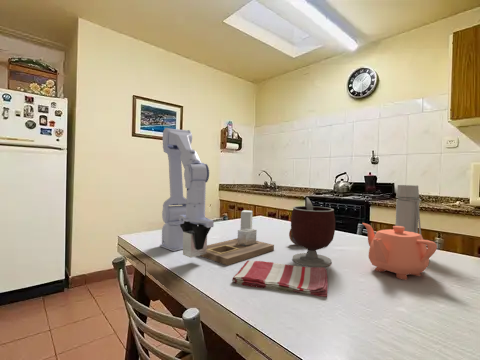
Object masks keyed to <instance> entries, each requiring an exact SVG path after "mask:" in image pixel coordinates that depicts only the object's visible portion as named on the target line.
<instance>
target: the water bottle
mask: <svg viewBox="0 0 480 360" xmlns="http://www.w3.org/2000/svg"><path fill="white" fill-rule="evenodd" d="M419 192H420V191H419V185H414V184H413V185H412V184H397V187H396V193H395V194H396V196H395V198H396V200H395V201H396V202H395V205H396V206H395V226H402V227H405V229H404V231H408V232H414V233H418V234H421V235H422V230H421V229H422V228H421V217H420V216H421V215H420V214H421V213H420V202H422V199H421V198H420V193H419Z"/></svg>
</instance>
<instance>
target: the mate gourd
mask: <svg viewBox="0 0 480 360" xmlns="http://www.w3.org/2000/svg"><path fill="white" fill-rule="evenodd" d="M305 201H306V204H305V205H301V206H300V205H299V206H293V207H292V211H291V212H292V213H291V217H290V229H291V231H292V236H293V238H294V240H295V241H296V243H297V244H298V245H300V247H303V248H304V249H306V250H307V251H306V252H305V253H304V252H301V253H297V254H293V255H292V261H293V262H294V263H296V264H298V265H301V266H303V267H318V268H320V267H324V268H326V267H329V266H330V265H332V262H333V261H332V259H331V258H329V256H326V255H321V254H318V252H317V250H321V249H325V248H327V247H328V246H330V244H331V243H332V241H334V240H333V239H334V237H335V232H336V216H335V212H334V211H335V209H334V208H331V207H326V206H325V207H324V206H314V205H313V203H312V201H311V200H310V198H309V197H305ZM298 245H297V246H298Z"/></svg>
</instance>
